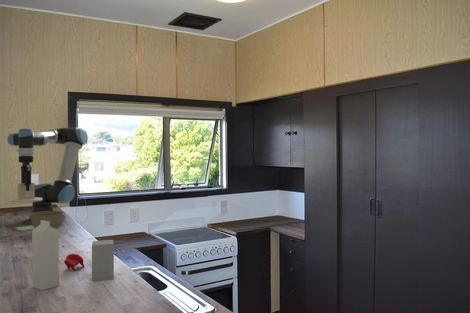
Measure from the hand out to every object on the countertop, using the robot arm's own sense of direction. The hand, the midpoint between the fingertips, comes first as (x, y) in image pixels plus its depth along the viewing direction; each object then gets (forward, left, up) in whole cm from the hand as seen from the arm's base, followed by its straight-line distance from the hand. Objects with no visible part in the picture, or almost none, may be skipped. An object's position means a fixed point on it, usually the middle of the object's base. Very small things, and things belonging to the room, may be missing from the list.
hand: (26, 196), depth 225 cm
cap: (+96, -6, -19) cm, 98 cm away
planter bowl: (+19, +6, -19) cm, 27 cm away
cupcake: (+1, +17, -19) cm, 26 cm away
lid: (0, 0, -3) cm, 3 cm away
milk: (+109, -20, -19) cm, 112 cm away
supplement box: (+113, -2, -19) cm, 114 cm away
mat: (0, 0, -19) cm, 19 cm away
